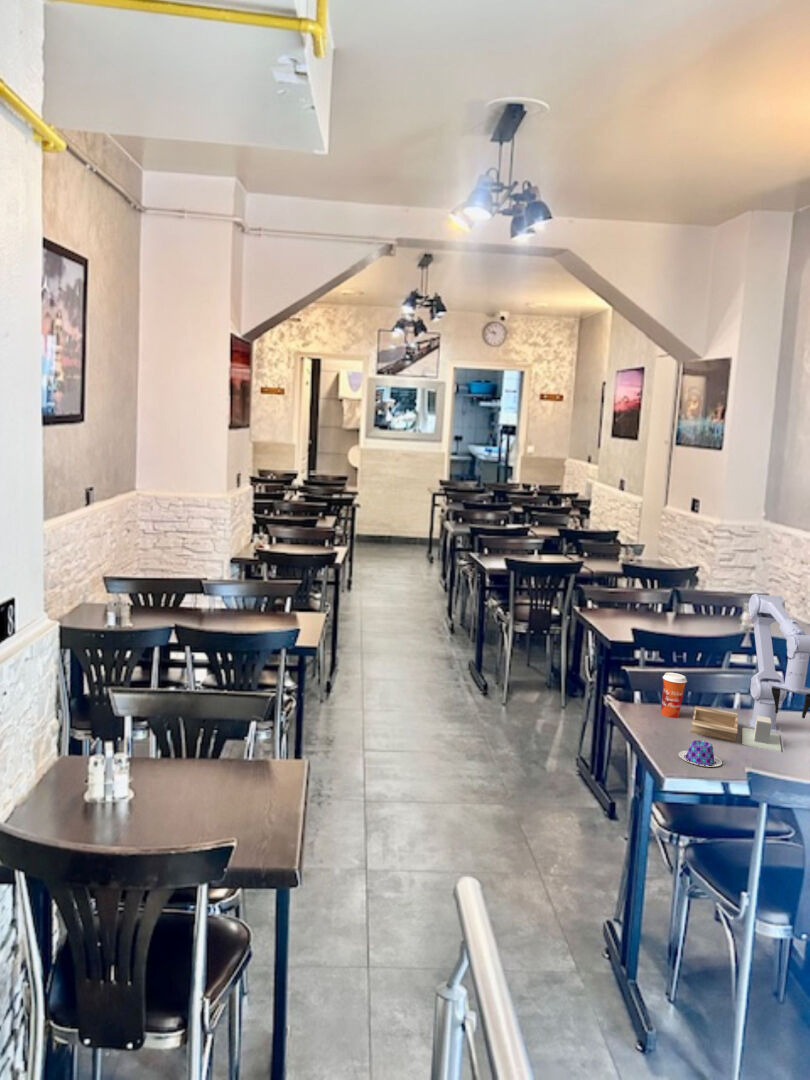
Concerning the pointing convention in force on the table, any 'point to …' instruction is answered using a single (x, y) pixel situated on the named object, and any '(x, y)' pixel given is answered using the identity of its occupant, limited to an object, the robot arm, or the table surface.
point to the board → (749, 740)
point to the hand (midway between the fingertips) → (789, 714)
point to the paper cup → (672, 694)
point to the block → (762, 729)
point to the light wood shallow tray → (715, 723)
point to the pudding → (700, 753)
